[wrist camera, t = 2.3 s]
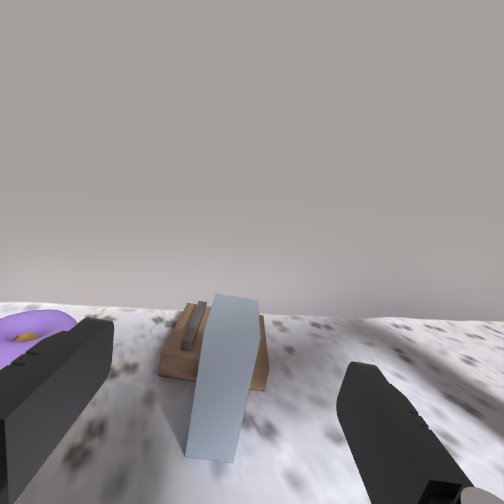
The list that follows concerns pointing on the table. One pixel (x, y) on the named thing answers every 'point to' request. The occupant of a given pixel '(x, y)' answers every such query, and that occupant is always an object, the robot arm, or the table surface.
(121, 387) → the table surface
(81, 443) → the table surface
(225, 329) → the light blue rectangular block
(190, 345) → the display stand
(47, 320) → the donut
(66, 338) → the robot arm
